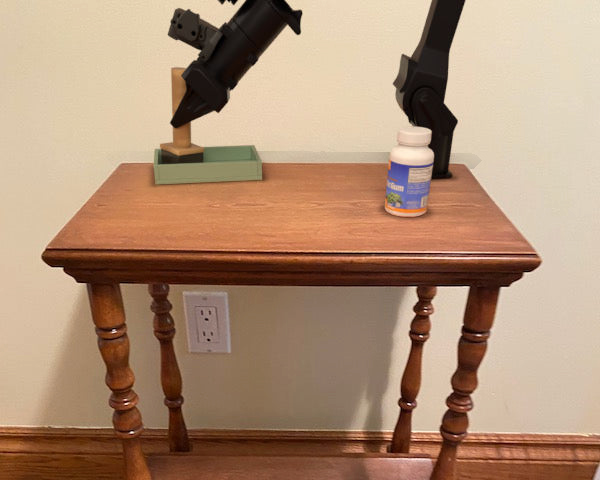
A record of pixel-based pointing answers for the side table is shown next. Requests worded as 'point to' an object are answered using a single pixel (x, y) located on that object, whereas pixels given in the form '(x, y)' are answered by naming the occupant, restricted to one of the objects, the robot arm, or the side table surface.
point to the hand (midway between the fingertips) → (174, 123)
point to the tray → (212, 166)
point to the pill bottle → (409, 173)
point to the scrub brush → (180, 129)
